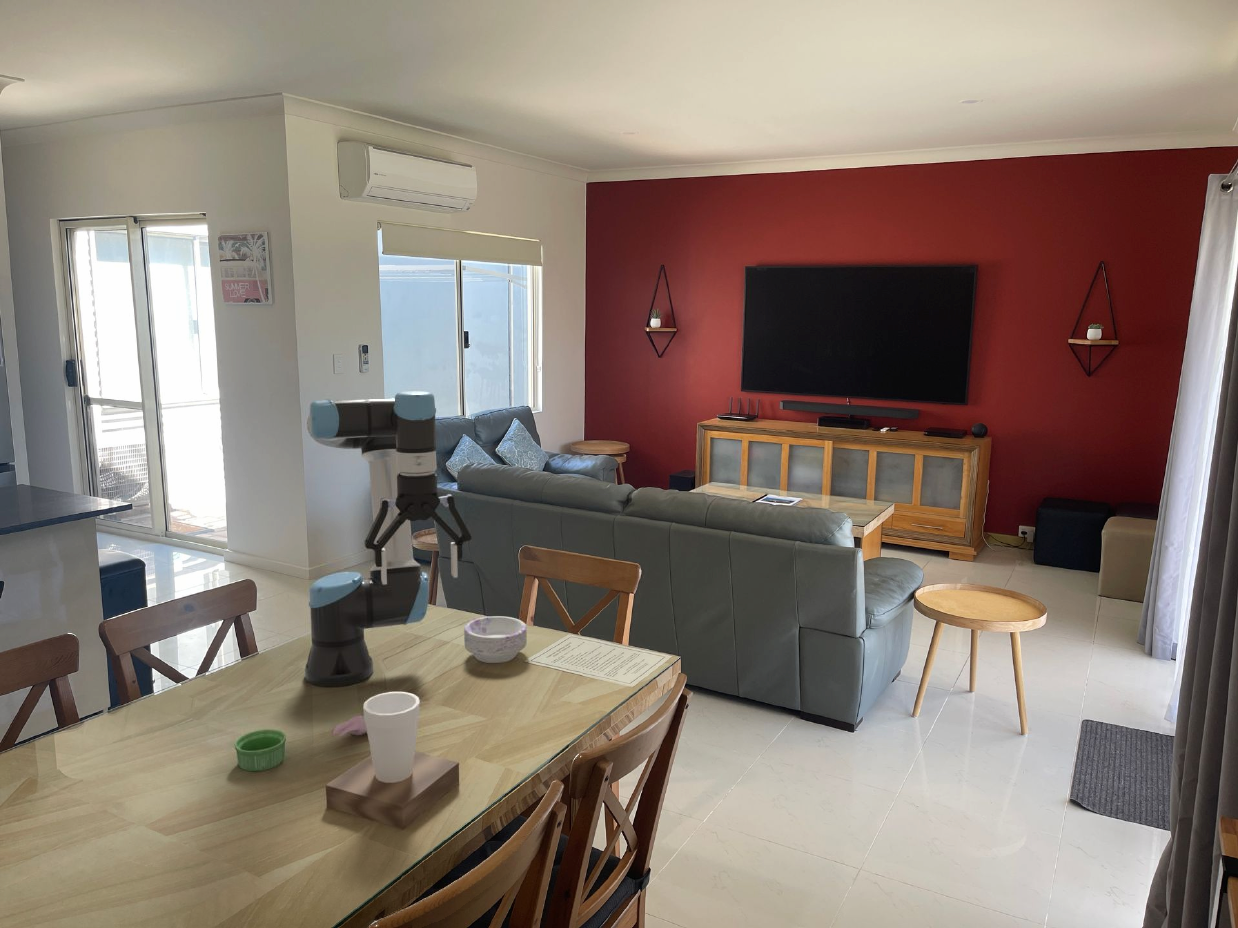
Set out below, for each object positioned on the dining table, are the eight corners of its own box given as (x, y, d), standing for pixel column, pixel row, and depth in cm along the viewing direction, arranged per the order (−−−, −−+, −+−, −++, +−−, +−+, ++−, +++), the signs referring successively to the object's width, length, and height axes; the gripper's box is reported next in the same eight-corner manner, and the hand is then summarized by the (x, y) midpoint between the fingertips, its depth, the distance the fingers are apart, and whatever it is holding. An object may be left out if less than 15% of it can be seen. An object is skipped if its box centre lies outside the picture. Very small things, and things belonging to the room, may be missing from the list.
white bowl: (522, 668, 209) (522, 637, 208) (459, 668, 210) (458, 636, 208) (530, 645, 224) (530, 615, 223) (470, 644, 225) (470, 614, 223)
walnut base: (326, 806, 150) (325, 784, 149) (387, 763, 164) (386, 743, 164) (403, 829, 144) (402, 806, 143) (459, 782, 158) (458, 762, 157)
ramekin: (297, 754, 168) (296, 732, 167) (264, 777, 160) (263, 754, 159) (259, 746, 171) (258, 725, 170) (224, 768, 162) (223, 746, 162)
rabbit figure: (374, 721, 185) (322, 740, 171) (377, 693, 185) (325, 710, 171) (398, 727, 182) (347, 747, 168) (400, 699, 182) (350, 716, 168)
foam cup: (407, 790, 148) (404, 717, 146) (356, 784, 150) (353, 712, 148) (430, 762, 157) (428, 694, 155) (381, 757, 159) (379, 689, 157)
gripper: (350, 479, 161) (355, 590, 165) (485, 472, 170) (486, 578, 174) (347, 472, 168) (352, 579, 172) (477, 466, 177) (478, 568, 180)
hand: (419, 579), depth 173 cm, fingers open, 13 cm apart
